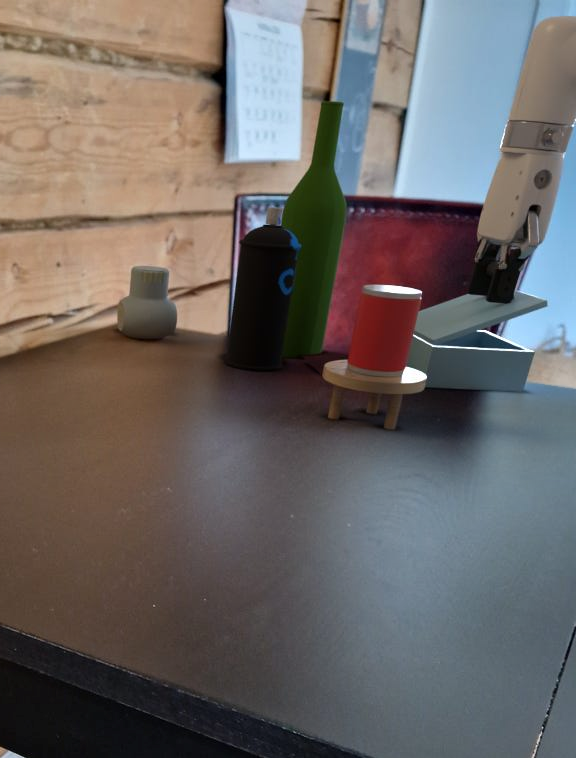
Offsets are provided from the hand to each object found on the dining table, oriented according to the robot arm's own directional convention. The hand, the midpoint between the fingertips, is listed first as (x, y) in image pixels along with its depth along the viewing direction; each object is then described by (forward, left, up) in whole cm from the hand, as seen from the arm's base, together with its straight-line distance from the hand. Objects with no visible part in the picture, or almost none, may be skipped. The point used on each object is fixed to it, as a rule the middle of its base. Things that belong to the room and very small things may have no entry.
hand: (488, 297), depth 114 cm
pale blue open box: (+2, 0, -11) cm, 11 cm away
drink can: (+22, +25, -5) cm, 34 cm away
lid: (+2, 0, -3) cm, 3 cm away
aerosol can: (+29, -4, -11) cm, 32 cm away
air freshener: (+43, -21, -11) cm, 50 cm away
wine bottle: (+21, -14, -11) cm, 28 cm away
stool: (+22, +25, -11) cm, 35 cm away
